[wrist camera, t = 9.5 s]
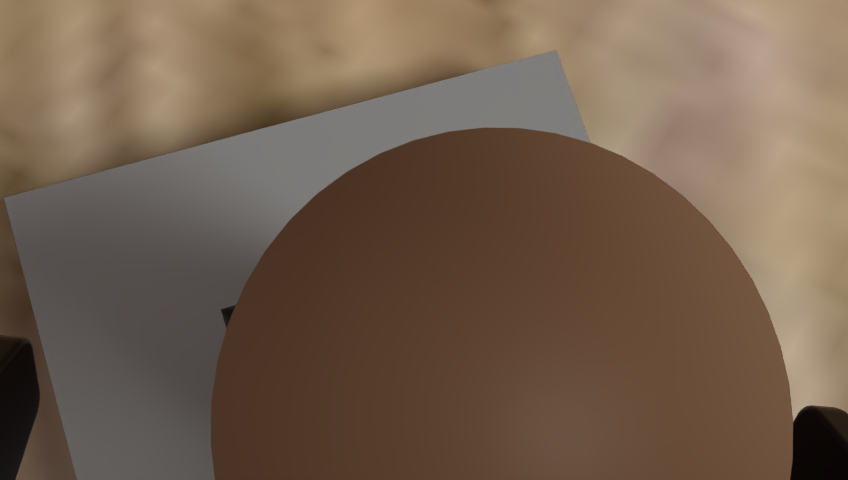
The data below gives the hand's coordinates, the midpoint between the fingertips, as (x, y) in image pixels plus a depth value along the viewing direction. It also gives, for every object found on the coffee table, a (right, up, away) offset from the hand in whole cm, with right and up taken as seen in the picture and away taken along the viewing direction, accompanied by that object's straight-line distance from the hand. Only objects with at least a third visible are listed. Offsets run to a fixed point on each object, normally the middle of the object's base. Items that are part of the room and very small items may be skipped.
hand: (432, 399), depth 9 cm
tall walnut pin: (-1, -2, +10) cm, 10 cm away
